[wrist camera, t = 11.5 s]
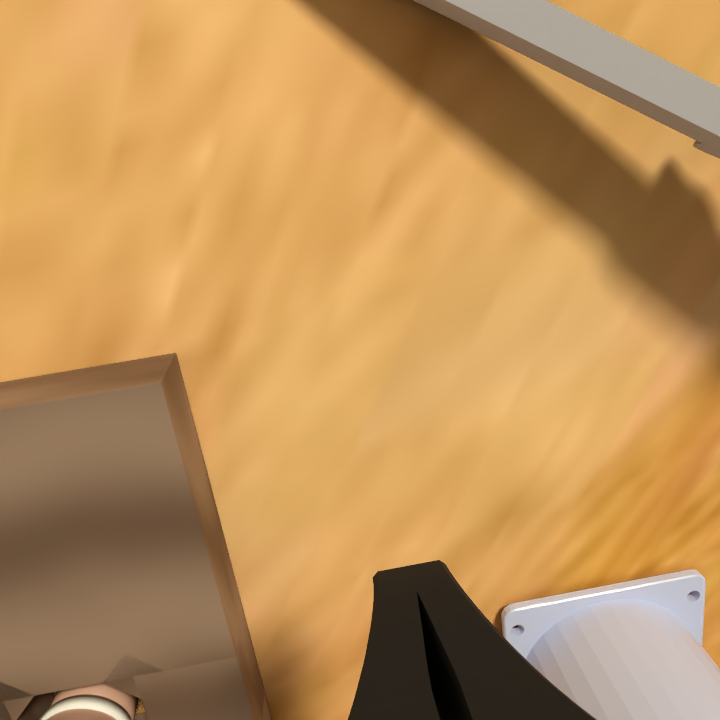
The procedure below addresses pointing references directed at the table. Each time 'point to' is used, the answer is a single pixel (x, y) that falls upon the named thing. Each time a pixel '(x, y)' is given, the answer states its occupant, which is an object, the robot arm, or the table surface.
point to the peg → (92, 704)
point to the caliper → (597, 62)
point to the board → (116, 550)
